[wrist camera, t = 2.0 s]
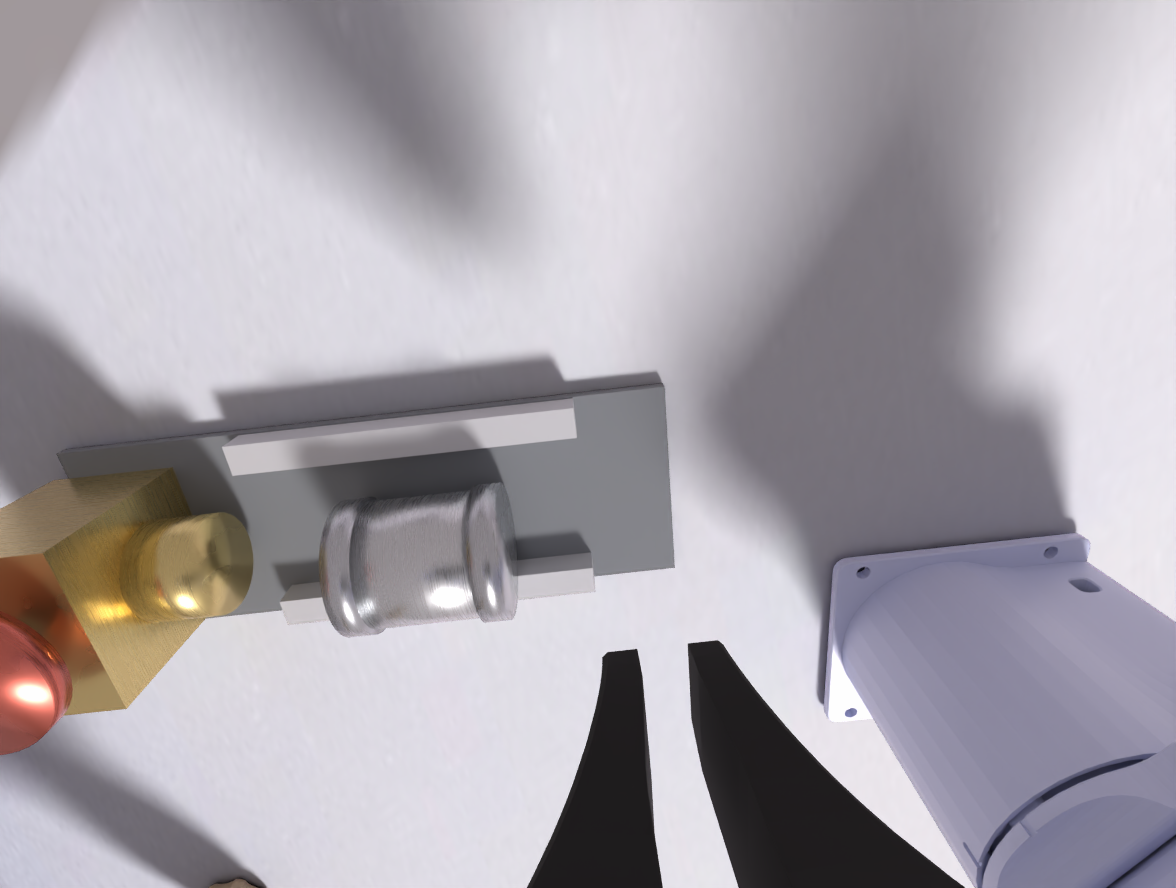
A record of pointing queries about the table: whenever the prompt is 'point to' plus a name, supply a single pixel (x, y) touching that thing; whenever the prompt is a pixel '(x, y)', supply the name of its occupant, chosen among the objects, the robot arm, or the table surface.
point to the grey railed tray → (434, 484)
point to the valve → (105, 593)
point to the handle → (233, 884)
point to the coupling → (419, 560)
